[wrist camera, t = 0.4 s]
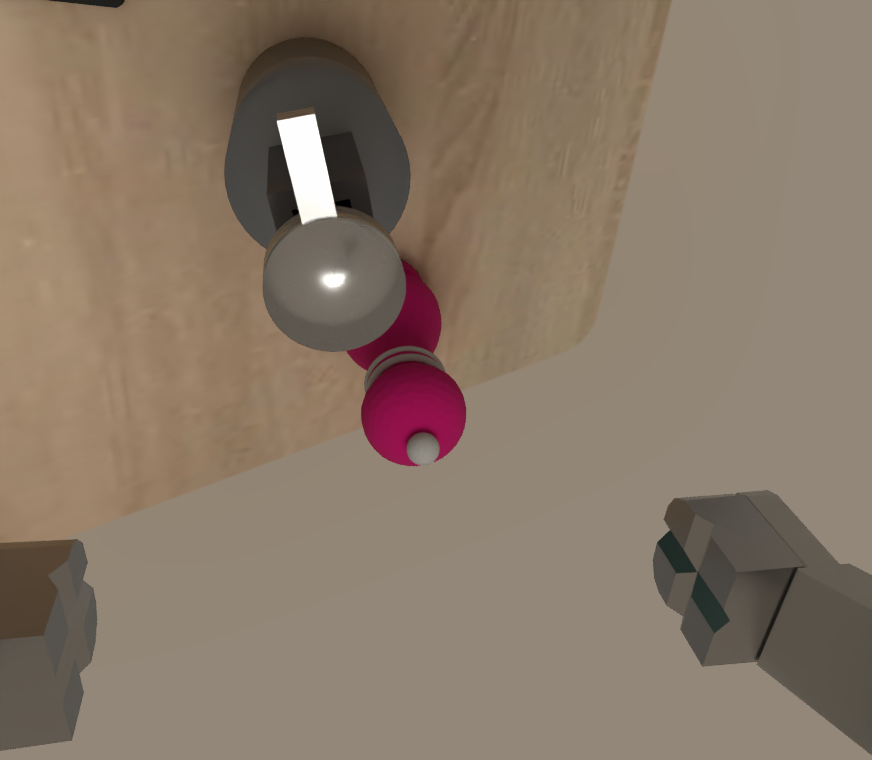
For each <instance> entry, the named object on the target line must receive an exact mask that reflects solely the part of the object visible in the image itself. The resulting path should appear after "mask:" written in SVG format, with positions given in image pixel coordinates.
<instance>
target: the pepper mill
mask: <svg viewBox="0 0 872 760" xmlns="http://www.w3.org/2000/svg"><path fill="white" fill-rule="evenodd" d="M401 263H402V266H403V269H404V273H405V279H406V294H405V299H404V303H403V306H402V309H401V311H400V313H399V315H398V317H397V318H396V320H395V321H394V323H393V324H392V325H391V326H390V328H389V329H388V330H387V331H386V332H385V333H383V334H382V335H381V336H380V337H378V338H377V339H375V340H374V341H372V342H370V343H368V344H366V345H364V346H361V347H359V348H355V349H352V350H347V353H348V354H349V355H350V357H351V358H352V359H353V360H354V361H355V362H356V363H357V364H358V365H359V366H361V367H362V368H363V369H365V370H367V373H366V376H365V381H364V386H365V392H366V394H365V397H364V401H363V404H362V407H361V419H362V425H363V429H364V432H365V435H366V437H367V439H368V441H369V442H370V444H371V445H372V447H373V448H374V449H375V450H376V451H377V452H378V453H379V454H380V455H381V456H382V457H384V458H386V459H387V460H389V461H392V462H394V463H397V464H400V465H406V466H421V465H423V466H424V465H428V464H431V463H433V462H435V461H437V460H439V459H441V458H443V457H444V456H445V455H447V454H448V453H449V452H450V451H451V450H452V449H453V448H454V447H455V446H456V444H457V443H458V441H459V439H460V437H461V436H462V433H463V430H464V427H465V422H466V406H465V401H464V397H463V394H462V392H461V390H460V388H459V387H458V385H457V384H456V382H455V381H454V380H453V379H452V378H451V377H450V376H449V375H448V374H447V373H445V369H444V367H443V365H442V363H441V362H440V360H439V359H438V358H437V357H436V356H435V355H434V354H433V352H434V350H435V348H436V346H437V344H438V341H439V336H440V332H441V314H440V310H439V306H438V302H437V300H436V298H435V296H434V294H433V293H432V291H431V290H430V289H429V288H428V287H427V286H426V285H425V283H423V282H422V280H421V278H420V276H419V274H418V273H417V271H416V270H415V269H414V268H413V267H412V266H411V265H409V264H408V263H406V262H405V261H402V260H401Z"/></svg>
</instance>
